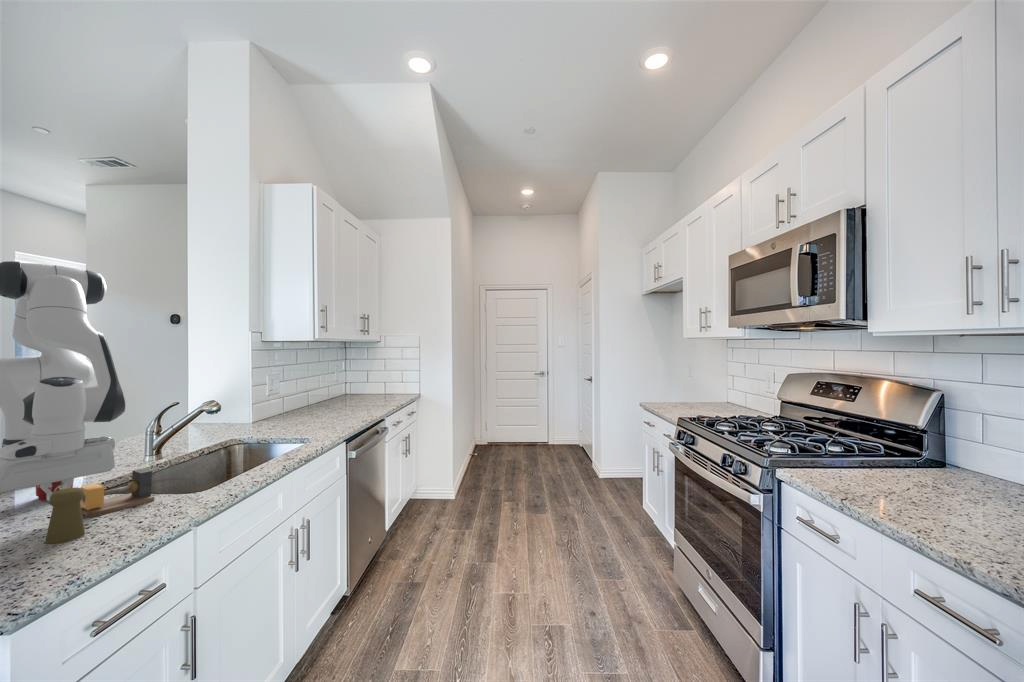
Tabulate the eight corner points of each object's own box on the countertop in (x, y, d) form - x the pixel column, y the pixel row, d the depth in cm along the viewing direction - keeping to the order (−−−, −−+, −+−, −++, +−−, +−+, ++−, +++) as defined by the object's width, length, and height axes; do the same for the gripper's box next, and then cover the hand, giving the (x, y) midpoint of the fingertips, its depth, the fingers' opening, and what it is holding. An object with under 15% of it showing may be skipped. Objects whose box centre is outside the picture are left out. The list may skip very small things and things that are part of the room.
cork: (57, 546, 85) (59, 495, 86) (37, 542, 87) (39, 492, 87) (92, 533, 91) (94, 485, 91) (72, 530, 92) (74, 483, 93)
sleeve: (79, 506, 102) (80, 486, 102) (95, 502, 105) (96, 483, 105) (87, 509, 100) (88, 490, 100) (103, 505, 103) (104, 486, 103)
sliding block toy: (75, 510, 103) (76, 479, 103) (139, 494, 115) (140, 466, 115) (89, 517, 99) (90, 486, 99) (154, 500, 111) (155, 472, 111)
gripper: (110, 433, 108) (108, 484, 108) (-12, 450, 90) (-15, 511, 89) (120, 436, 105) (118, 488, 105) (-4, 454, 87) (-7, 517, 87)
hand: (56, 498), depth 97 cm, fingers closed
